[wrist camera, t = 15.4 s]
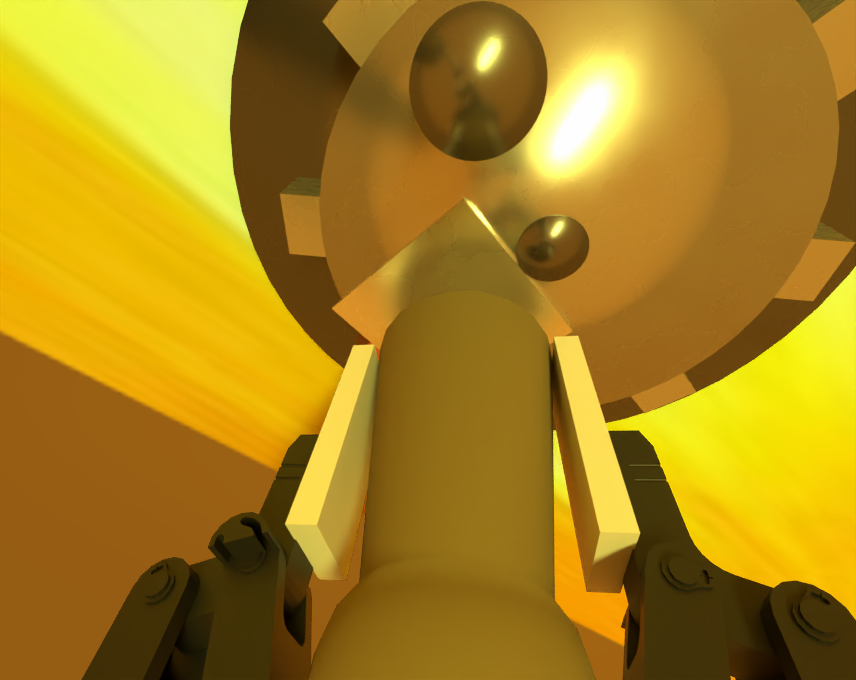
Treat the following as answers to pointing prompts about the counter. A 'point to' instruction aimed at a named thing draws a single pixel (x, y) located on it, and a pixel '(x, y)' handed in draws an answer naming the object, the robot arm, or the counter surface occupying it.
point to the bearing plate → (304, 157)
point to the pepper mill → (458, 507)
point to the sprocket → (585, 169)
